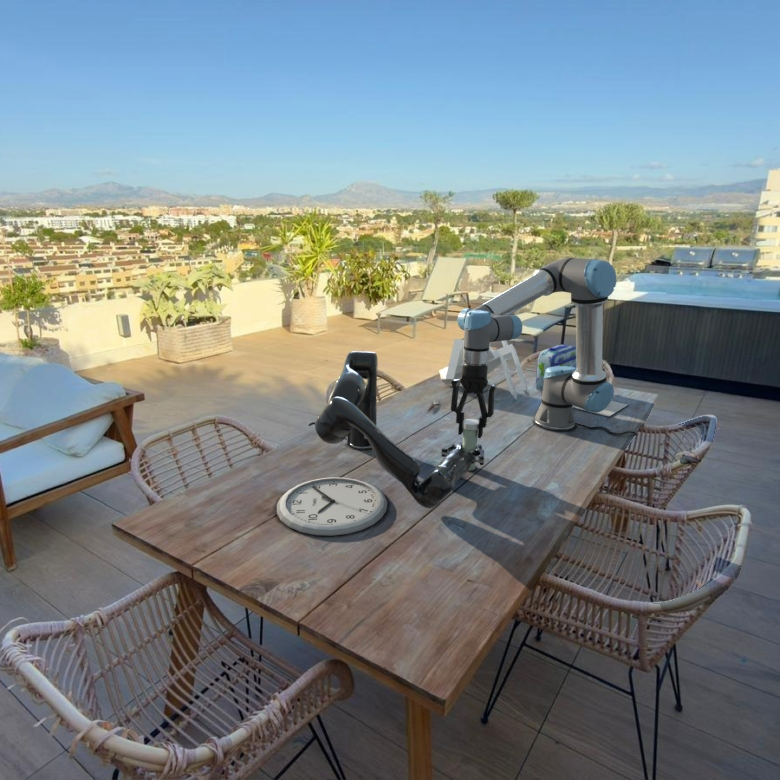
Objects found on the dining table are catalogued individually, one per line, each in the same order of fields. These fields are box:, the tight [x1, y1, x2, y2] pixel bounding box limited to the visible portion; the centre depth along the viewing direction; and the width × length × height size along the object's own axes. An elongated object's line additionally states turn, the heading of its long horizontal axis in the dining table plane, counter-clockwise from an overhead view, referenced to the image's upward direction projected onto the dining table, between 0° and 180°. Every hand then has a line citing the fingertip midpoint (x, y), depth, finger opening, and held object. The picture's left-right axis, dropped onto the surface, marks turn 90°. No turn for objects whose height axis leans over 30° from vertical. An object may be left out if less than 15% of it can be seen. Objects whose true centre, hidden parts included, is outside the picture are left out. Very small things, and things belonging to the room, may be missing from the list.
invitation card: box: [573, 400, 629, 418], centre depth 226 cm, size 21×1×15 cm
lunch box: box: [535, 344, 576, 392], centre depth 247 cm, size 26×11×21 cm, turn 134°
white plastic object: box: [438, 338, 531, 400], centre depth 245 cm, size 37×45×31 cm
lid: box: [462, 418, 479, 431], centre depth 162 cm, size 5×5×2 cm
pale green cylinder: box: [462, 428, 478, 472], centre depth 165 cm, size 4×4×15 cm
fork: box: [427, 396, 442, 412], centre depth 222 cm, size 3×16×2 cm, turn 160°
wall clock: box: [276, 476, 388, 537], centre depth 142 cm, size 30×2×30 cm
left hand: (471, 445), depth 167 cm, fingers closed on pale green cylinder, 4 cm apart
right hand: (470, 434), depth 163 cm, fingers open, 6 cm apart
